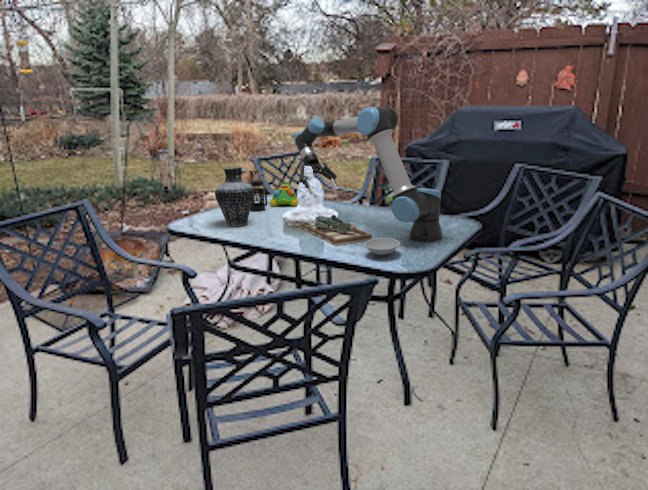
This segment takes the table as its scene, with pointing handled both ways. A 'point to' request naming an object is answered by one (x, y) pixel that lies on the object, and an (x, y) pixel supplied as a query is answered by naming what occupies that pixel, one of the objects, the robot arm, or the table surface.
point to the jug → (235, 196)
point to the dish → (382, 245)
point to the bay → (337, 235)
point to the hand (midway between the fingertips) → (323, 191)
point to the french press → (259, 206)
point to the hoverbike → (333, 224)
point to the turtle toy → (284, 196)
